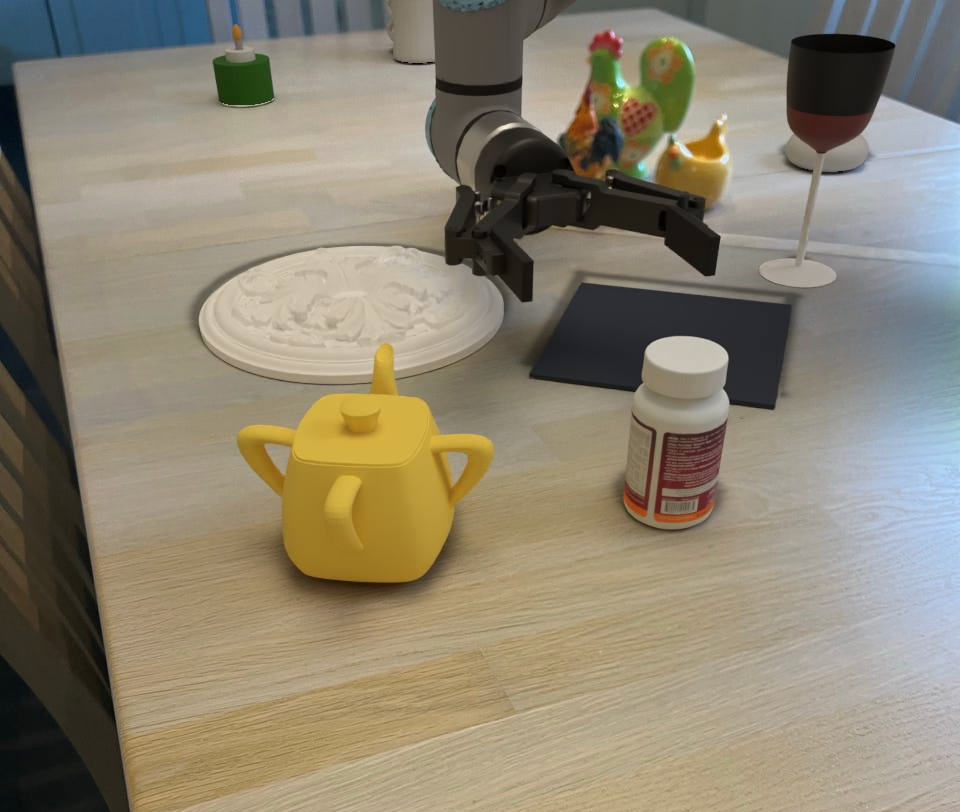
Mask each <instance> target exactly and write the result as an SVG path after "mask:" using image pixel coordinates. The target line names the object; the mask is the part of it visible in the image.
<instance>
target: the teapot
mask: <svg viewBox="0 0 960 812" xmlns="http://www.w3.org/2000/svg"><path fill="white" fill-rule="evenodd" d="M300 420H301V421H300V422H299V424H298V426H297V428H296V429H293V428H290V427H283V426H277V425H270V424H268V425H267V424H252V425H248V426H245V427H243V428H242V429H240V431H238V433H237V435H236V445H237V448H238V450H239V452H240V454H241V456H242V458H243V459H244V461H245V462H246V463H247V465H248V466H249V467H250V469H251V470H252V471H253V472H254V473H255V474H256V475H257V476H258V477H259V478H260V479H261V480H262V481H263V482H264V483H265V484H266V485H267V486H268V487H269V488H270V489H271V490H273V492H275V493H276V494H277V495H278V496H279V497H280V498H281V527H282V528H281V529H282V540H283V545H284V549H285V551H286V553H287V556H288V557H289V559H290V561H291V562H292V563H293V564H294V566H296V567H297V568H298V570H300V571H301V572H302V574H304V575H306V576H309V577H313V578H319V579H325V580H335V581H343V582H344V581H346V582H357V583H407V582H412V581H416V580H418V579H420V578H421V577H423V576H424V575H425V574H426V573H428V571H429V570H430V569H431V567H432V566H433V564H434V563H435V561H436V560H437V558H438V556H439V554H440V553H441V551H442V549H443V546H444V545H445V542H446V541H447V538H448V536H449V534H450V532H451V530H452V529H451V528H452V525H453V523H454V522H453V521H454V516H455V507H456V506H457V505H458V504H459V503H460V502H461V501H462V500H463V499H464V498H466V496H468V494H469V493H470V492H471V491H472V490H473V489H474V488H475V487H476V486H477V485H478V484H479V482H481V480H482V479H483V478H484V476H485V475H486V474H487V473H488V471H489V469H490V468H491V465H492V463H493V459H494V456H495V448H494V443H492V441H491V440H490V439H489V438H487V437H485V436H483V435H479V434H473V433H451V434H450V433H449V434H441V433H440V430H439V428H438V425H437V422H436V420H435V418H434V415H433V413H432V411H431V409H430V407H429V405H428V404H427V402H425V401H424V400H423V399H422V398H419V397H414V396H406V395H399V392H398V388H397V382H396V379H395V376H394V350H393V347H392V346H391V344H389V343H384V344H382V345H380V346H379V348H378V349H377V351H376V354H375V360H374V370H373V378H372V382H371V384H370V391H369V393H331V394H327V395H324V396H322V397H320V398H319V399H318V400H316V402H314V403H313V404H312V406H310V407H309V409H308V410H307V412H306V413H305V414H304V416H303V418H302V419H300ZM265 444H268V445H269V444H271V445H279V446H285V447H290V452H289V455H288V460H287V465H286V469H285V474H284V473H283V472H282V471H281V470H280V469H279V468H278V467H277V465H276V464H275V462H274V461H273V459H272V457H271V456H270V454H269V453H268V451H267V450H266V447H265ZM448 453H462V454H464V455H466V456H467V460H466V461H467V462H466V465H465V467H464V469H463V471H462V472H461V475H460V477H459V478H458V479H457V481H456V482H455V484H454V483H453V475H452V471H451V465H450V461H449V457H448Z"/></svg>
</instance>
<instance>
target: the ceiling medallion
mask: <svg viewBox="0 0 960 812" xmlns="http://www.w3.org/2000/svg"><path fill="white" fill-rule="evenodd" d="M504 305H505V304H504V299H503V295H502V293H501V291H500V290H499V289H498V287H497V286H496V285H495V283H494V282H492V281H491V280H490V279H489V278H488V277H486V276H475V275H473V274H472V267H470V266H468V265H465V264H463V263H461V264H459V265H455V266H450V265H447V264H446V263H445V256H441V255H438V254H434V253H431V252H428V251H423V250H419V249H417V248H415V247H408V248H404V247H403V246H401V245H392V246H381V245H351V246H336V247H326V248H325V247H318V248H316V249H311V250H306V251H302V252H301V251H300V252H296V253H293V254H287V255H285V256H282V257H281V256H280V257H278V258H274V259H271V260H269V261H266V262H264V263H261V264H259V265H256V266H253V267H251V268H249V269H248V270H245V271H243V272H242V273H239V274H238V275H236V276H234V277H232V278H231V279H229V280H228V281H227V282H225V283H224V284H222V285H221V286H220V287H218V288H217V289H216V290H215V291H213V292H212V294H210V296H209V297H207V299H206V300H205V301H204V303H203V305H202V306H201V309H200V311H199V314H198V315H199V316H198V325H199V330H200V335H201V339H202V340H203V343H204V344H205V346H206V347H207V348H208V349H209V350H210V351H211V352H212V353H213V354H214V355H215V356H216V357H218V358H219V359H220V360H222V361H224V362H226V363H227V364H229V365H231V366H233V367H235V368H238V369H240V370H243V371H244V372H248V373H251V374H254V375H258V376H262V377H264V378H265V377H266V378H270V379H275V380H280V381H287V382H293V383H294V382H295V383H302V384H313V385H315V384H317V385H353V384H355V385H356V384H366V383H372V378H373V370H374V360H375V354H376V351H377V349H378V348H379V346H380V345H382V344H384V343H389V344H391V346H392V347H393V350H394V376H395V380H397V379H403V378H408V377H412V376H417V375H421V374H424V373H427V372H431V371H434V370H438V369H441V368H444V367H447V366H448V365H451V364H453V363H456V362H458V361H461V360H463V359H465V358H467V357H468V356H470V355H472V354H474V353H475V352H477V351H478V350H480V349H481V348H482V347H484V346H485V345H487V344H488V343H489V342H490V341H491V340H492V339H493V338H494V337H495V335H496V334H497V333H498V331H499V330H500V328H501V326H502V324H503V321H504V311H505V309H504V308H505V306H504Z"/></svg>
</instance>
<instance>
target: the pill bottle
mask: <svg viewBox="0 0 960 812" xmlns="http://www.w3.org/2000/svg"><path fill="white" fill-rule="evenodd" d="M727 367H728V354H727V352H726V350H725V349H724V348H723V347H721V346H720V345H718V344H717V343H715V342H712V341H710V340H706V339H703V338H698V337H690V336H673V337H667V338H662V339H659V340H656V341H654V342H652V343H651V344H650V345H649V346H648V347H647V348H646V350H645V355H644V363H643V369H642V380H643V382H644V383H642V384H641V385H640V386H639V388H638V389H637V390H636V391H634V395H633V398H632V404H631V412H630V423H629V424H630V425H629V434H628V435H629V436H628V443H627V444H628V445H627V455H626V467H625V478H624V488H623V505H624V507H625V509H626V510H627V512H628V514H630V515H631V516H632V517H633V518H634V519H636V520H637V521H638V522H640V523H643V524H644V525H647V526H650V527H653V528H657V529H661V530H680V529H686V528H687V529H688V528H691V527H694V526H696V525H699V524H701V523H702V522H704V521H705V520H707V519H708V517H709V516H710V515H711V514H712V512H713V510H714V505H715V500H716V499H715V498H716V494H717V487H718V480H719V476H720V475H719V474H720V469H721V463H722V456H723V450H724V445H725V438H726V431H727V426H728V421H729V415H730V404H729V399H728V396H727V394H726V392H725V391H724V390H723V387H724V385H725V382H726V373H727Z"/></svg>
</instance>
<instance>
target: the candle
mask: <svg viewBox="0 0 960 812" xmlns="http://www.w3.org/2000/svg"><path fill="white" fill-rule="evenodd" d="M231 36H232V39H233V40H234V46H231V47H227V48H225V49H224V55H220V56H217V57H215V58H214V59H212V66H213V72H214V79H215V85H216V89H217V97H218V102H219V101H220V102H221V103H224V104H228V105H255V104H261V103H265V102H268V101H271V100H272V99H273V98H275V92H274V84H273V76H272V69H271V61H270V57H269V55H266V54H263V53H256V51H255V48H254V47H252V46H244V45H243V31H242V29H241V27H240V25H238V24H237V23H236V24H234V25H233V26H232V30H231Z"/></svg>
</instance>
